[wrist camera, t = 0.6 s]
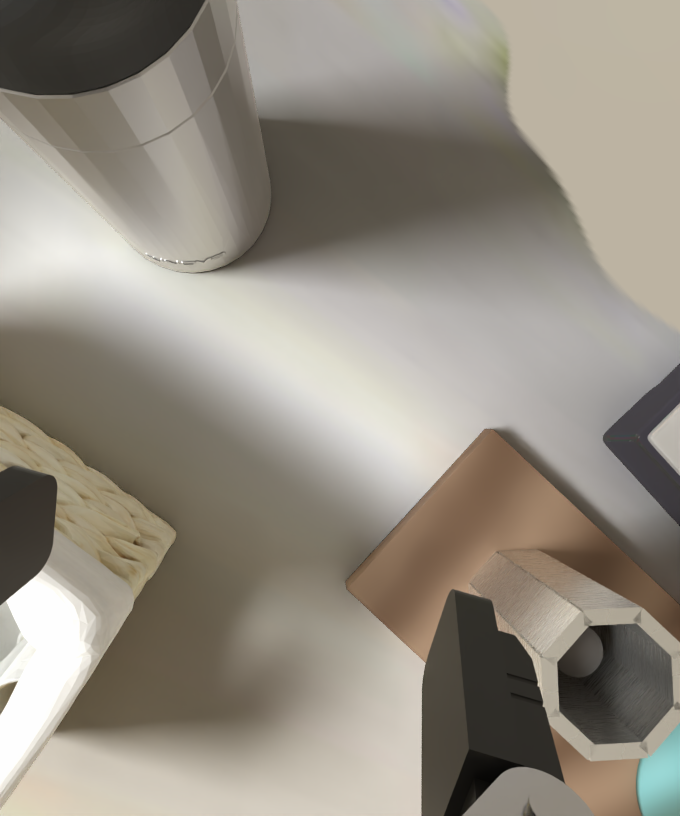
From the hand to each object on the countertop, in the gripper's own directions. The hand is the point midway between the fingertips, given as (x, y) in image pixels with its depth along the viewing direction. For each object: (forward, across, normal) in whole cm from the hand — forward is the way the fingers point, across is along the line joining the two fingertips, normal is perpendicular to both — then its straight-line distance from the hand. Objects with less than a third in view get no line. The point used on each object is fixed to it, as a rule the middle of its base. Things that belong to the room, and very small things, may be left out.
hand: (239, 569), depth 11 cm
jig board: (+20, -18, +14) cm, 30 cm away
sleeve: (+19, -12, +10) cm, 25 cm away
